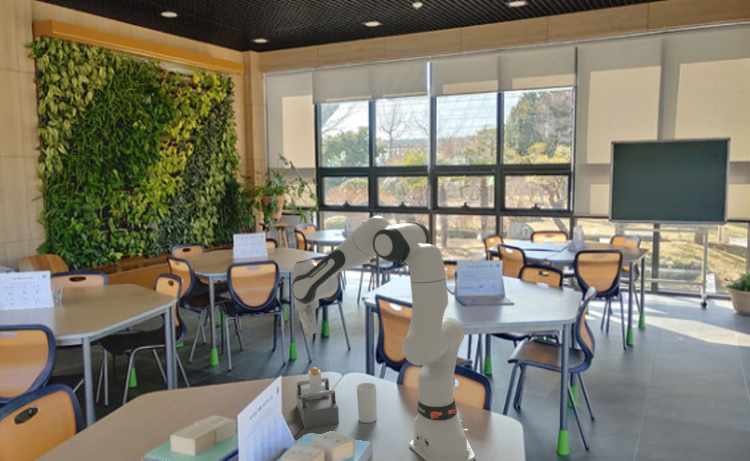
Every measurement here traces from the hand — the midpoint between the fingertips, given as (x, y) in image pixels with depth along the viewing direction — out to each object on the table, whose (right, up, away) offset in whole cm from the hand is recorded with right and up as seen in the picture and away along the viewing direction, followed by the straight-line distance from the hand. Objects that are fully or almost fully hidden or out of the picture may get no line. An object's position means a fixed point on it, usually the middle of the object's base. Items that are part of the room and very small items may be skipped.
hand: (308, 338), depth 211 cm
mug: (+23, -26, -11) cm, 36 cm away
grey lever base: (+4, -26, -7) cm, 27 cm away
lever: (+3, -19, -7) cm, 21 cm away
